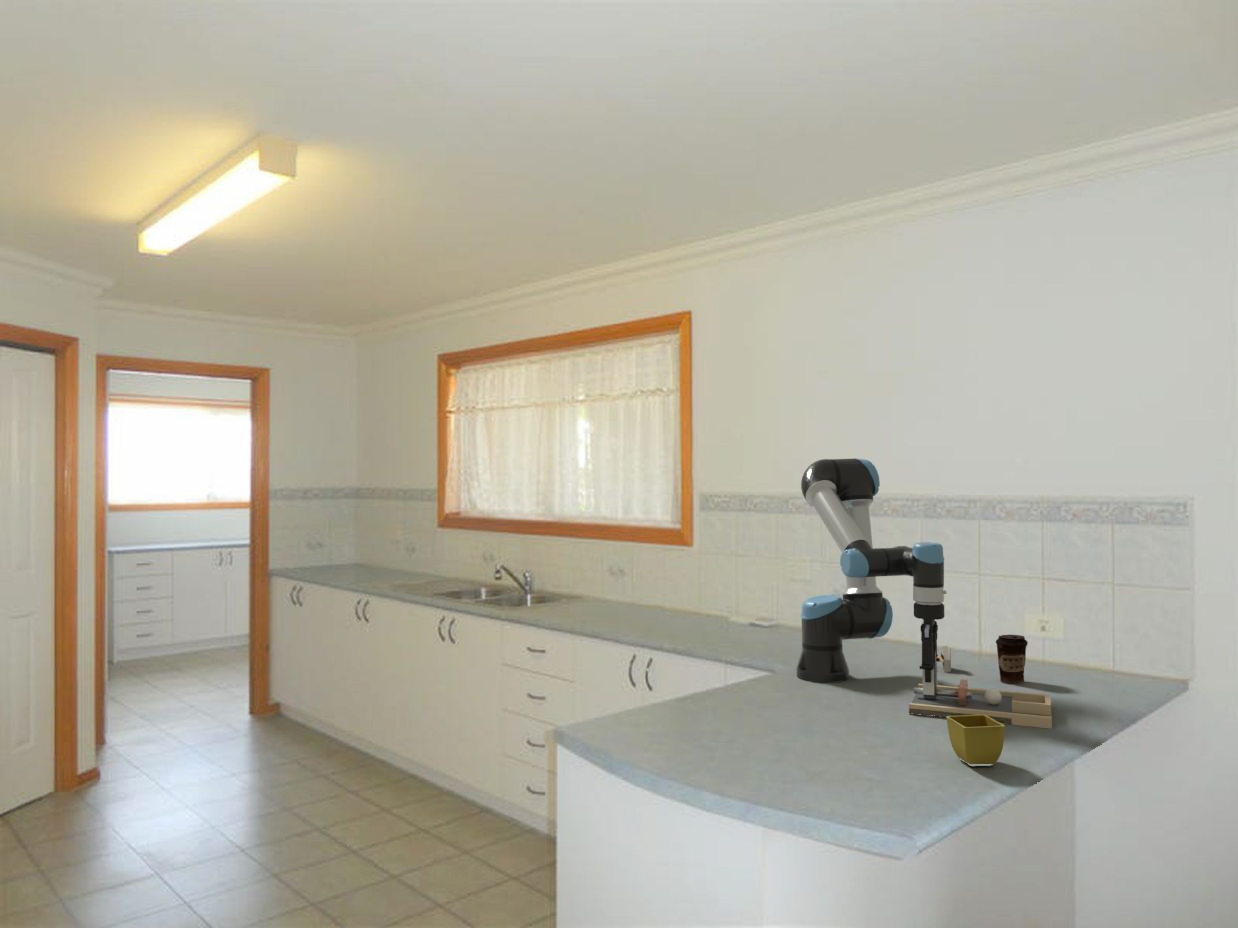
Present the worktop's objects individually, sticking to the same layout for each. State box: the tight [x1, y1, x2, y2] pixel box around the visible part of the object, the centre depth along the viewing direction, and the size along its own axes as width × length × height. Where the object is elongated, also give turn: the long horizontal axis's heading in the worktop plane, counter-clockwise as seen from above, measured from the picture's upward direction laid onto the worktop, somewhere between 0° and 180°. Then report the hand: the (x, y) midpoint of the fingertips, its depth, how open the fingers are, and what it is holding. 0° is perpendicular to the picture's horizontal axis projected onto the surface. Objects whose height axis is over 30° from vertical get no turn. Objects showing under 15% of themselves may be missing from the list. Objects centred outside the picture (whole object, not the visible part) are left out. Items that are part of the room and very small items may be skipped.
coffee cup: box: [995, 634, 1029, 685], centre depth 250 cm, size 9×8×13 cm
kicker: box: [913, 651, 972, 706], centre depth 226 cm, size 14×9×12 cm, turn 65°
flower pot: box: [945, 715, 1006, 765], centre depth 183 cm, size 9×9×9 cm
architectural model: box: [937, 644, 952, 673], centre depth 266 cm, size 3×7×7 cm, turn 169°
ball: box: [984, 688, 1002, 705], centre depth 221 cm, size 4×4×4 cm
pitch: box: [908, 683, 1053, 730], centre depth 223 cm, size 32×22×4 cm
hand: (930, 690), depth 228 cm, fingers open, 8 cm apart
